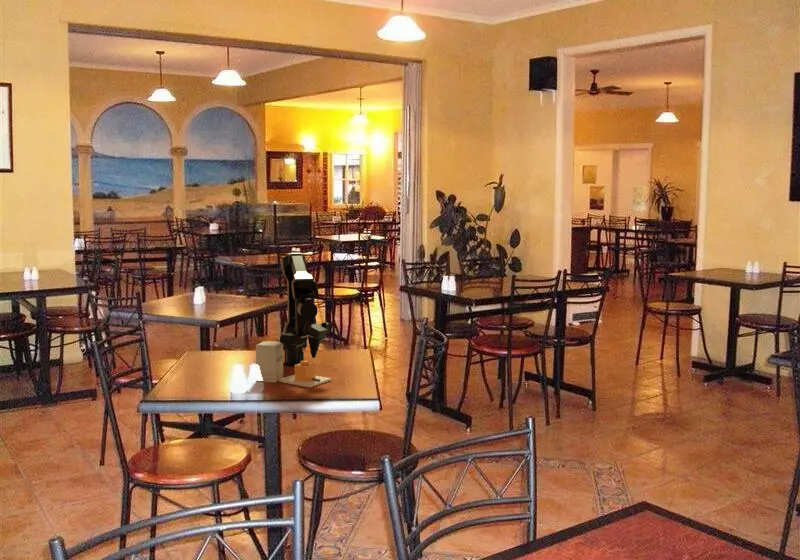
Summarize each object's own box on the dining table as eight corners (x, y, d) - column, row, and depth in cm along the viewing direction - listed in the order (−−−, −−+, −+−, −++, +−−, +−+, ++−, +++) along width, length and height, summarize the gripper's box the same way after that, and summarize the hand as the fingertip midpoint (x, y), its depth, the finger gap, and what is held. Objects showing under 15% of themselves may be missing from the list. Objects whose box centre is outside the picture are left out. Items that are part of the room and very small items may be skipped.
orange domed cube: (294, 379, 278) (294, 361, 277) (304, 376, 282) (304, 359, 281) (305, 381, 275) (305, 363, 274) (315, 378, 279) (315, 361, 279)
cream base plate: (278, 381, 278) (278, 368, 278) (300, 374, 287) (299, 362, 287) (310, 387, 270) (310, 373, 270) (331, 380, 279) (331, 367, 279)
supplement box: (276, 382, 277) (275, 345, 275) (255, 381, 278) (254, 344, 277) (284, 377, 284) (283, 341, 282) (263, 376, 285) (263, 340, 284)
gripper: (304, 321, 264) (304, 368, 266) (340, 313, 279) (340, 358, 281) (278, 317, 270) (279, 364, 272) (315, 310, 285) (315, 354, 287)
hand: (304, 360), depth 278 cm, fingers open, 9 cm apart
